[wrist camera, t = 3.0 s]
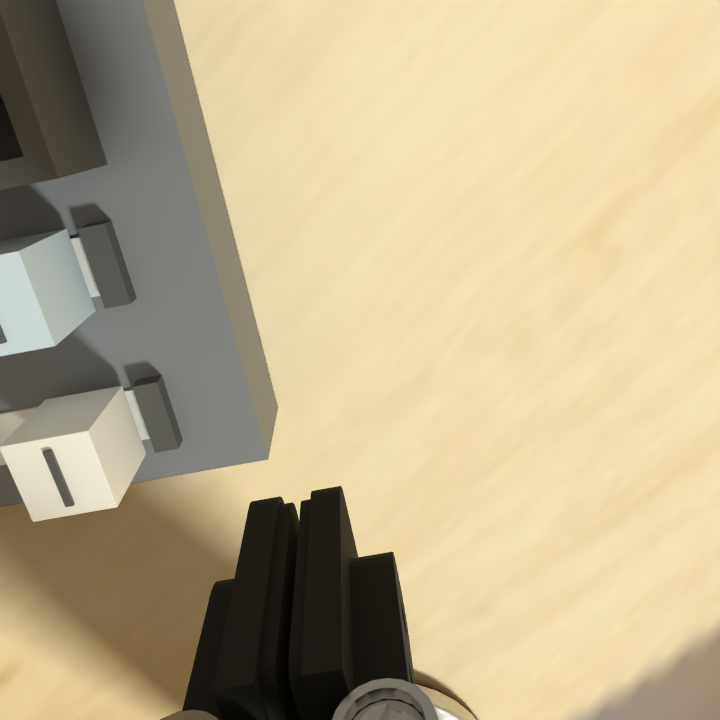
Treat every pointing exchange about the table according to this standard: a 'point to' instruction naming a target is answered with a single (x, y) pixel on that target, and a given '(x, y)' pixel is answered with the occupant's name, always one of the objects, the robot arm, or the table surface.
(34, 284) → the slider blue
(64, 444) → the slider white
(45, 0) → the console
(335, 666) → the robot arm
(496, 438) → the table surface
